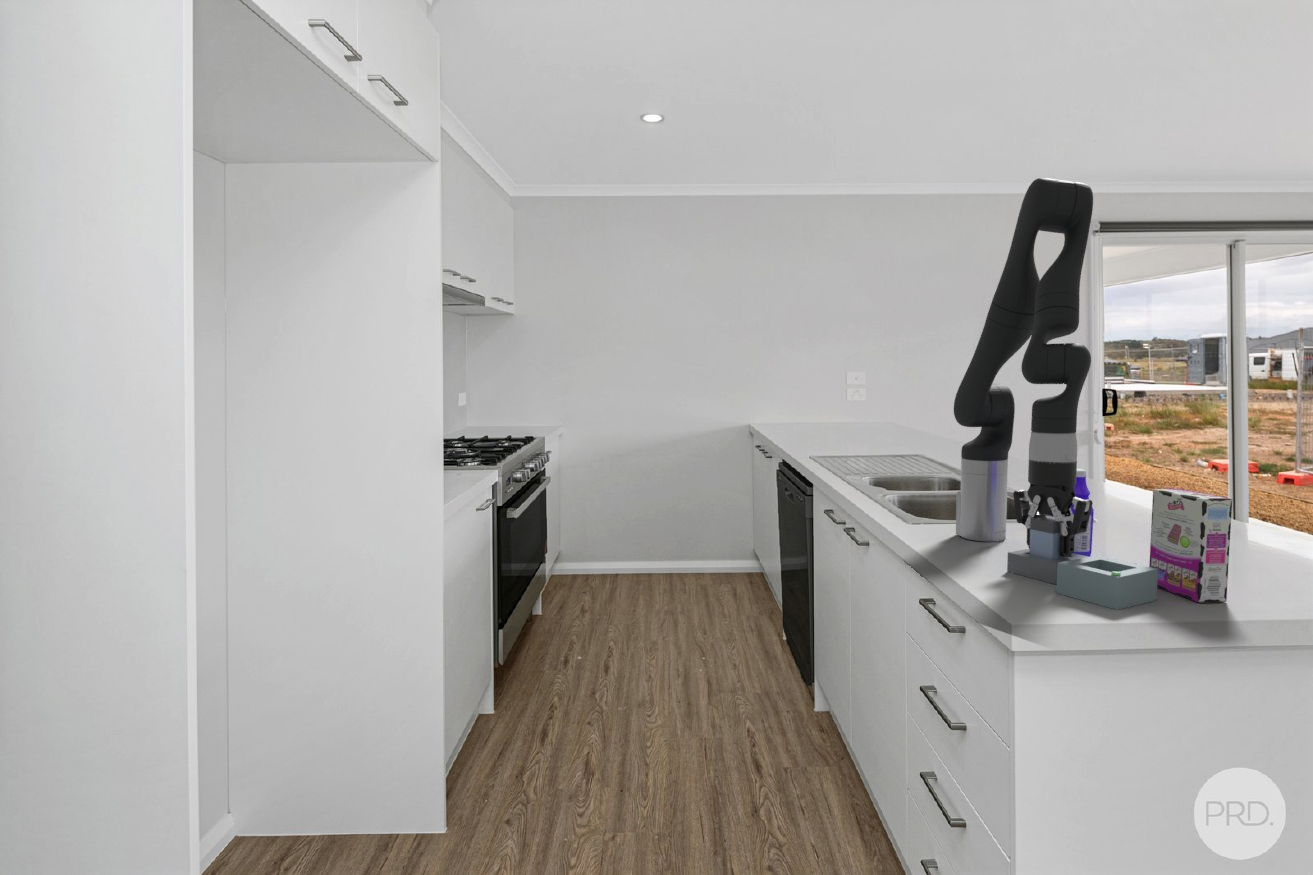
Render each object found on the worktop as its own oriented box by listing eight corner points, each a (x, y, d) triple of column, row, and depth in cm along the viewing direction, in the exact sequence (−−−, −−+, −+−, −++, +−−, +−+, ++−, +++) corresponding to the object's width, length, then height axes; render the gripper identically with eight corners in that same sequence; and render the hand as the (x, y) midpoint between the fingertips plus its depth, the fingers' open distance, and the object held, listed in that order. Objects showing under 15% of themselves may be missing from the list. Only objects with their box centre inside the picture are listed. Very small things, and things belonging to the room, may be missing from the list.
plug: (1028, 573, 136) (1030, 518, 135) (1045, 569, 138) (1047, 515, 137) (1051, 579, 132) (1053, 522, 131) (1068, 575, 134) (1070, 519, 133)
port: (1056, 592, 124) (1057, 560, 123) (1095, 584, 128) (1096, 553, 128) (1117, 609, 115) (1118, 574, 115) (1156, 600, 119) (1158, 566, 119)
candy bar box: (1229, 603, 118) (1235, 498, 116) (1199, 604, 117) (1204, 499, 116) (1174, 582, 129) (1179, 487, 127) (1146, 584, 128) (1150, 488, 127)
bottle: (1088, 557, 147) (1091, 467, 145) (1094, 564, 141) (1098, 471, 140) (1046, 554, 149) (1049, 466, 148) (1051, 561, 144) (1054, 470, 142)
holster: (1007, 571, 137) (1007, 552, 137) (1042, 564, 141) (1042, 546, 141) (1055, 584, 129) (1056, 564, 128) (1091, 576, 133) (1091, 557, 133)
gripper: (1106, 460, 128) (1102, 558, 130) (1030, 452, 141) (1027, 542, 143) (1077, 463, 125) (1073, 564, 127) (1002, 455, 138) (1000, 546, 139)
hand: (1049, 552), depth 135 cm, fingers open, 5 cm apart
